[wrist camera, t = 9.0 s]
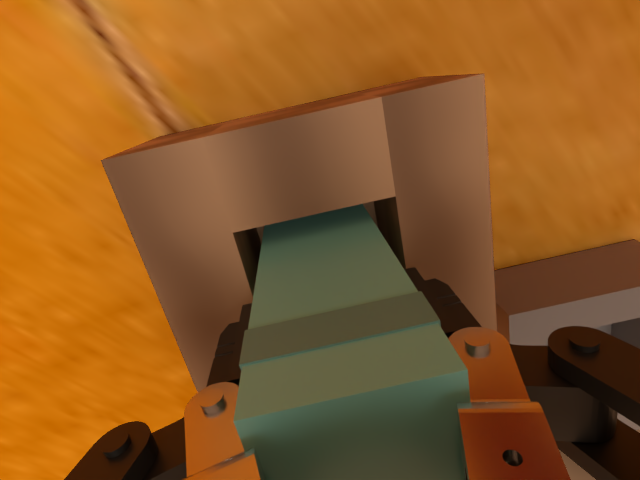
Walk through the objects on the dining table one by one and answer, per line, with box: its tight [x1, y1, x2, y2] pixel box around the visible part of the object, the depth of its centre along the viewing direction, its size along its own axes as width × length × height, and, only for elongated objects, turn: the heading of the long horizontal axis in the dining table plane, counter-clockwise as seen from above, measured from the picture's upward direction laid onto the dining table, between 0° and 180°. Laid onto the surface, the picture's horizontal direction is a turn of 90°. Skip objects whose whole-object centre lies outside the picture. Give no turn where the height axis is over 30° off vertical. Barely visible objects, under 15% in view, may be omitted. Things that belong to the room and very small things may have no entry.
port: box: [101, 74, 497, 392], centre depth 17 cm, size 12×12×7 cm
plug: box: [233, 204, 470, 480], centre depth 12 cm, size 4×4×10 cm
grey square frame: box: [494, 240, 640, 430], centre depth 21 cm, size 9×9×4 cm
